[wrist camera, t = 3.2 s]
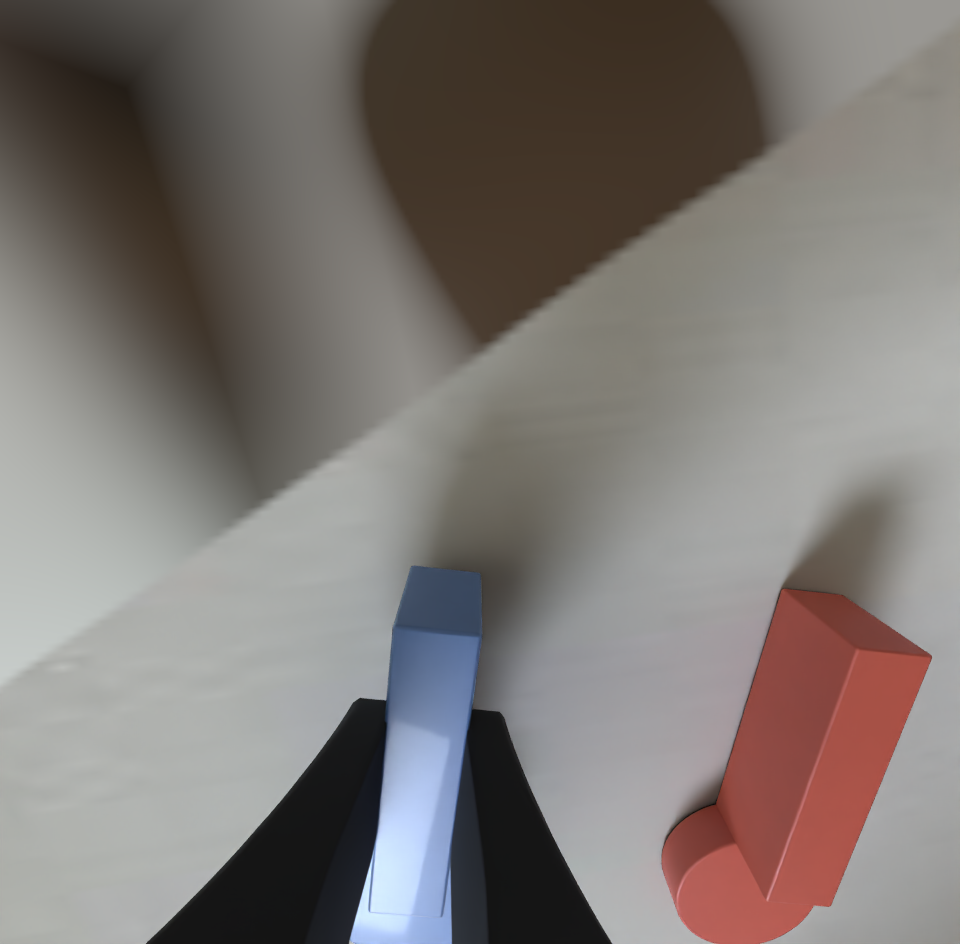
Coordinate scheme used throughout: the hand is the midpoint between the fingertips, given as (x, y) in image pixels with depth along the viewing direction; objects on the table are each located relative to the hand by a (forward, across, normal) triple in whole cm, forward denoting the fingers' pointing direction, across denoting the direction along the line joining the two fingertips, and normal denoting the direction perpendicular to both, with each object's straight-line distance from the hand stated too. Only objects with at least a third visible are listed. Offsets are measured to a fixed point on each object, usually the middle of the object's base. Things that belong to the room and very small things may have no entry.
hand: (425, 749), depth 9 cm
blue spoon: (+1, 0, +2) cm, 2 cm away
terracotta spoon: (+2, -8, +1) cm, 8 cm away
